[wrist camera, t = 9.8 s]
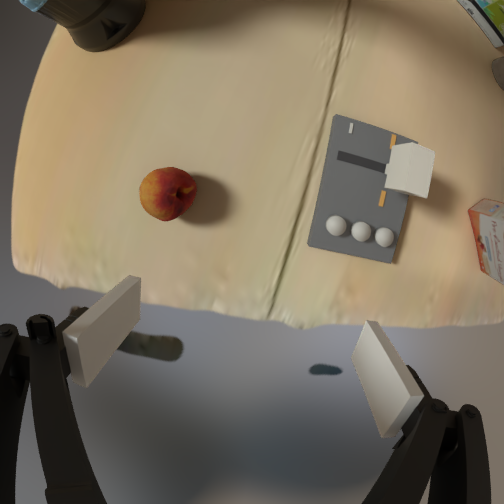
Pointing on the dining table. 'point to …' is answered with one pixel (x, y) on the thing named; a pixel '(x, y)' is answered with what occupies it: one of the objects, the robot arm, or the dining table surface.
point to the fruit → (167, 193)
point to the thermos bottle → (499, 71)
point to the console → (358, 193)
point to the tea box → (488, 18)
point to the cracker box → (489, 236)
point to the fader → (410, 169)
